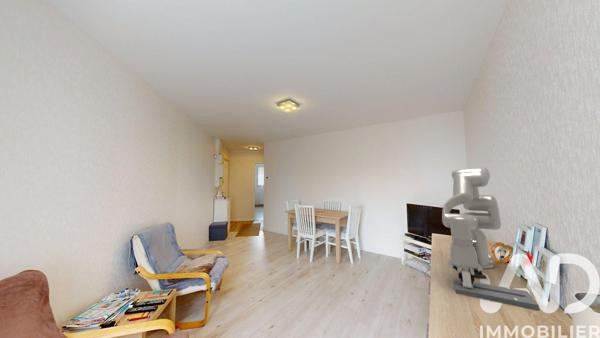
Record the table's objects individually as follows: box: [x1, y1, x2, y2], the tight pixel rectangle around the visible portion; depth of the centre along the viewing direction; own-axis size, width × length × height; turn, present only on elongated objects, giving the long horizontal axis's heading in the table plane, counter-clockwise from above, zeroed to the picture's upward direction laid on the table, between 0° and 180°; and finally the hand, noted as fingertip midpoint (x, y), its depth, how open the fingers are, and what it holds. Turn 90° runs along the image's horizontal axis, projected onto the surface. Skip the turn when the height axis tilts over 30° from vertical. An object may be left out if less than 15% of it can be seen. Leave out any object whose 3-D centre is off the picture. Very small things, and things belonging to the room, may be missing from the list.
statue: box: [468, 239, 488, 280], centre depth 108 cm, size 7×7×20 cm
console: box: [453, 277, 540, 311], centre depth 90 cm, size 26×12×2 cm, turn 55°
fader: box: [461, 267, 473, 289], centre depth 95 cm, size 4×7×7 cm, turn 145°
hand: (466, 281), depth 94 cm, fingers closed on fader, 3 cm apart
